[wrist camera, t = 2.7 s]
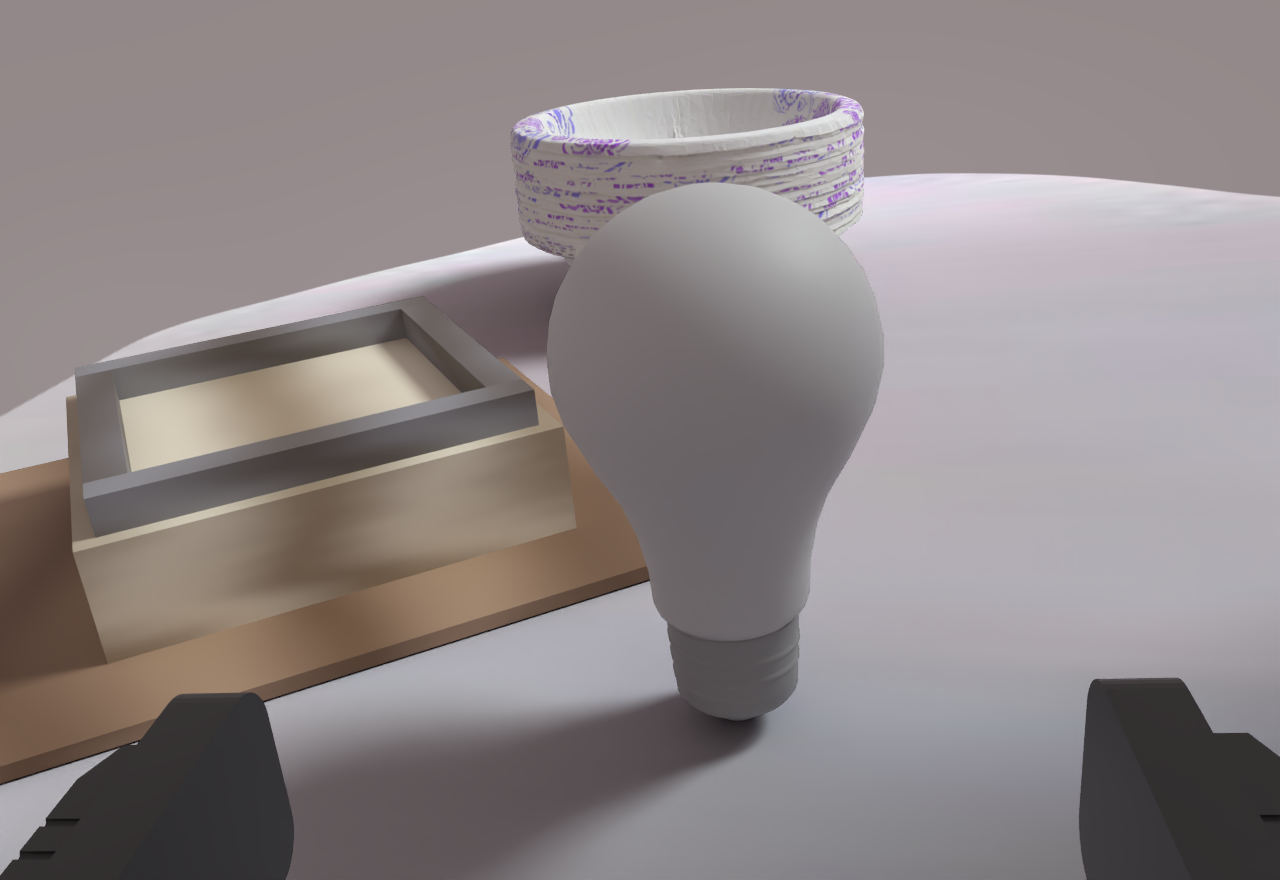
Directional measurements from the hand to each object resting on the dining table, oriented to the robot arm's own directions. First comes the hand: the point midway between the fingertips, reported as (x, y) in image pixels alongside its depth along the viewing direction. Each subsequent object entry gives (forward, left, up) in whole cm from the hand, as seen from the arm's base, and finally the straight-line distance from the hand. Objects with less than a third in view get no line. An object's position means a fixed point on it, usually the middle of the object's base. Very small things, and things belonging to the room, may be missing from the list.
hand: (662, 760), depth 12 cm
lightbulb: (-6, -10, -8) cm, 14 cm away
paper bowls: (-20, -39, -8) cm, 44 cm away
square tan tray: (0, -25, -8) cm, 26 cm away
